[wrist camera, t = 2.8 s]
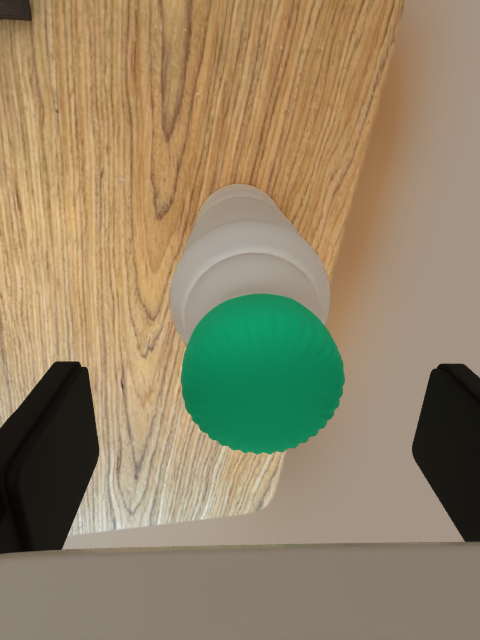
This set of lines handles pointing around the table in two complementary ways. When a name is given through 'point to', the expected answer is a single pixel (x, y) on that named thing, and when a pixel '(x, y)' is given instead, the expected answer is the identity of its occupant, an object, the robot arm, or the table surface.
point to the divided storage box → (15, 9)
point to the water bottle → (254, 326)
